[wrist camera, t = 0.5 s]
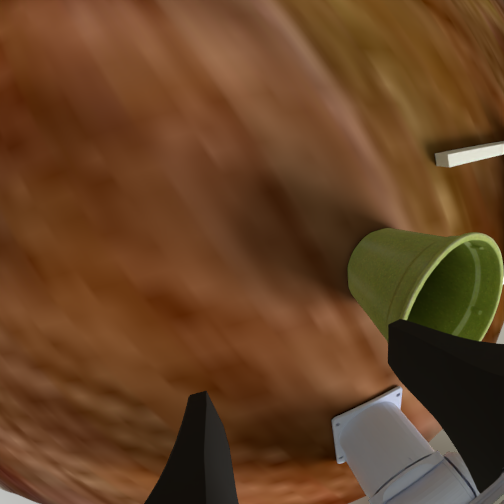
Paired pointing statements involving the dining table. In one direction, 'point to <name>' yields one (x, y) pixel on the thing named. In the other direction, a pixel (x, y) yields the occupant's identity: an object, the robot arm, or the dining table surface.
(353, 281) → the plant pot
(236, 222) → the dining table surface
